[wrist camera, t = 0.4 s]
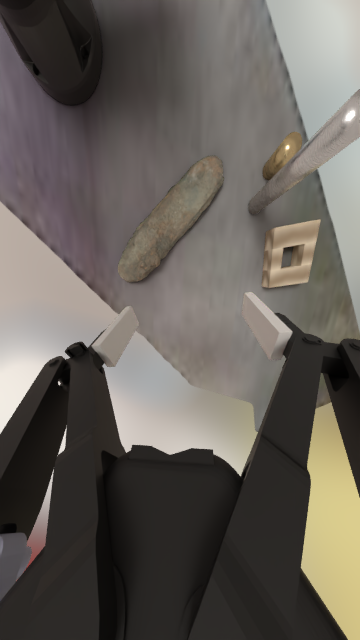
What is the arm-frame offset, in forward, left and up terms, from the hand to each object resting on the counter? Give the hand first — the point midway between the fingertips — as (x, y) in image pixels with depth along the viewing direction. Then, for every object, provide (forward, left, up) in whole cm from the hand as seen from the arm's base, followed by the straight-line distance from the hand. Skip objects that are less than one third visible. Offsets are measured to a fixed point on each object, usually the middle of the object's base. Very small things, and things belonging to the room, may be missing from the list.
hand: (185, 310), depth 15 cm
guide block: (-3, +28, -25) cm, 38 cm away
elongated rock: (-15, -3, -26) cm, 30 cm away
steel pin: (-16, +20, -25) cm, 36 cm away
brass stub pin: (-22, +23, -25) cm, 41 cm away
